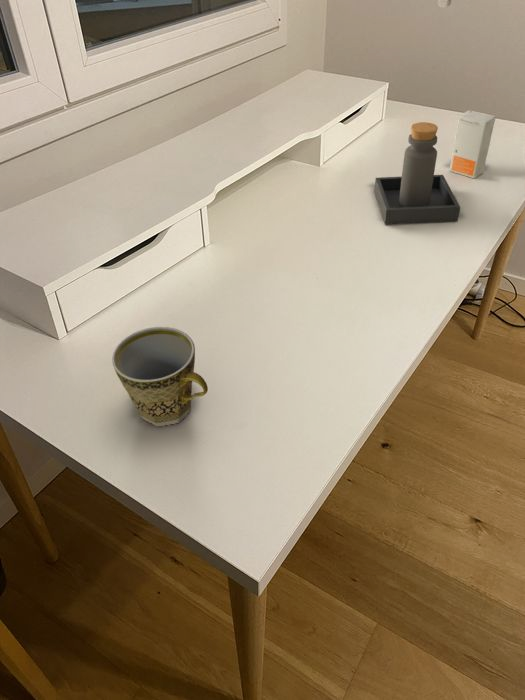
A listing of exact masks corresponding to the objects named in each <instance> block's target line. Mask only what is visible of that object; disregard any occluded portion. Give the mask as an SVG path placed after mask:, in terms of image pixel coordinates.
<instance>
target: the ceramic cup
mask: <svg viewBox="0 0 525 700" xmlns="http://www.w3.org/2000/svg"><path fill="white" fill-rule="evenodd" d="M111 361H112V362H111V363H112V367H113V369H114V371H115V374H116V376H117V377H118V379H119V381H120V384H121V385H122V386H123V388H124V389H125V391H126V392H127V394H128V396H129V398H130V400H131V401H132V403H133V405H134V406H135V408H136V411H137V412H138V414H139V415H140V417H141V419H143V420H144V421H145V422H147V423H150V424H151V423H152V424H151V425H153V426H155V427H157V426H162V427H164V426H163V425H168V426H170V425H169V424H174V425H176V424H175V423H178V422H180V421H181V420H182V419H183V418H184V417H185V416H186V415H187V414H188V413H189V412H190V413H191V411H192V400H193V399H195V398H199V397H204V396H205V395H206V394H207V393H208V390H209V387H208V383H207V382H206V380H205V379H204V378H203V376H202V375H201V374H199V373H197V372H195V362H196V345H195V343H194V340H193V339H192V338H191V337H190V336H189V334H187V333H186V332H184V331H182V330H180V329H177V328H174V327H169V326H153V327H147V328H144V329H140V330H137V331H135V332H133V333H131V334H129V335H127V336H126V337H125V338H123V339H122V340H121V341H120V342H119V343H118V344H117V346H116V347H115V348H114V350H113V353H112V359H111ZM193 382H194V383H196V384H198V385H199V386H200V387H201V389H202V391H200V392H195V393H193V394H192V390H193ZM190 413H189V414H190ZM189 414H188V415H189ZM188 415H187V416H188ZM187 416H186V417H187ZM186 417H185V418H186ZM185 418H184V419H185ZM184 419H183V420H184ZM183 420H182V421H183ZM182 421H181V422H182ZM181 422H180V423H181Z"/></svg>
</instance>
